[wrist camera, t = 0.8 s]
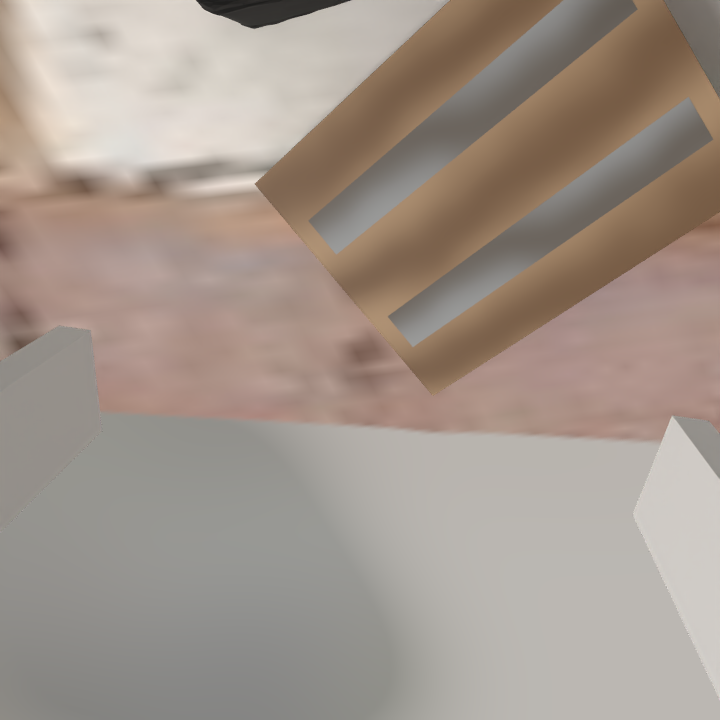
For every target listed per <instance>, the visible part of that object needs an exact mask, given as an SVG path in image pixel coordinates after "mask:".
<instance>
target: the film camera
mask: <svg viewBox="0 0 720 720" xmlns="http://www.w3.org/2000/svg"><path fill="white" fill-rule="evenodd" d="M196 1H197V2H198V3H199V4H200V5H201V6H202V8H203V9H204V10H206V11H208V12H210V13H213V14H216V15H221V16H224V17H226V18H229V19H231V20H234V21H236V22H238V23H241V25H243V26H247V27H250V28H254V29H256V28H259V27H263V26H266V25H274V24H277V23H280V22H283V21H286V20H288V19H291V18H295V17H299V16H303V15H307V14H310V13H313V12H315V11H318V10H321V9H324V8H328V7H332V6H335V5H338V4H341V3H344V2H347V1H350V0H196Z"/></svg>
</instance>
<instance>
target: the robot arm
mask: <svg viewBox="0 0 720 720" xmlns="http://www.w3.org/2000/svg"><path fill="white" fill-rule="evenodd" d="M101 431H102V424H101V416H100V407H99V398H98V389H97V381H96V372H95V363H94V355H93V346H92V337H91V330H85V329H78V328H72V327H65V326H58V327H56V328H55V329H53V330H51V331H50V332H48V333H46V334H45V335H43V336H41V337H40V338H38V339H36V340H35V341H33V342H31V343H30V344H28V345H27V346H25V347H23V348H22V349H20V350H18V351H17V352H15V353H13V354H12V355H10V356H8V357H7V358H5V359H4V360H2V361H0V532H2V531H3V530H4V528H6V526H7V525H9V524H10V523H11V522H12V521H13V520H14V518H16V516H17V515H19V514H20V513H21V512H22V510H23V509H25V508H26V507H27V505H29V504H30V502H32V501H33V500H34V499H35V498H36V497H37V495H39V493H40V492H41V491H43V489H44V488H45V487H46V486H47V485H48V484H49V483H50V482H51V481H52V480H53V479H54V478H55V477H56V476H57V475H58V474H59V473H60V472H61V471H62V470H63V469H64V468H65V467H66V466H67V465H68V464H69V463H70V462H71V461H72V460H73V459H74V458H75V457H76V456H77V455H78V454H79V453H80V452H81V451H82V450H83V449H84V448H85V447H86V446H87V445H88V444H89V443H90V442H91V441H92V440H93V439H94V438H95V437H96V436H97V435H98V434H99V433H100V432H101ZM633 517H634V519H635V521H636V523H637V525H638V527H639V529H640V532H641V533H642V536H643V538H644V540H645V542H646V544H647V546H648V549H649V551H650V553H651V555H652V557H653V559H654V561H655V563H656V566H657V568H658V570H659V572H660V574H661V576H662V578H663V581H664V583H665V585H666V587H667V589H668V591H669V593H670V595H671V597H672V600H673V602H674V604H675V606H676V608H677V610H678V613H679V615H680V617H681V619H682V621H683V623H684V625H685V627H686V630H687V632H688V634H689V636H690V638H691V640H692V642H693V644H694V646H695V649H696V651H697V653H698V655H699V657H700V659H701V661H702V664H703V666H704V668H705V670H706V672H707V674H708V676H709V678H710V680H711V683H712V684H713V687H714V689H715V691H716V693H717V695H718V698H719V700H720V434H719V432H718V431H717V430H716V429H715V428H714V426H713V425H712V424H711V423H710V422H709V421H706V420H700V419H693V418H686V417H679V416H672V417H671V420H670V422H669V425H668V427H667V430H666V432H665V435H664V437H663V440H662V442H661V445H660V447H659V450H658V453H657V455H656V457H655V460H654V462H653V465H652V468H651V470H650V472H649V475H648V477H647V480H646V483H645V485H644V487H643V490H642V492H641V495H640V497H639V500H638V503H637V505H636V508H635V510H634V512H633Z"/></svg>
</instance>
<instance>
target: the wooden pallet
mask: <svg viewBox="0 0 720 720" xmlns="http://www.w3.org/2000/svg"><path fill="white" fill-rule="evenodd" d="M255 185H256V186H257V187H258V189H259V190H260V191H261V192H262V193H263V195H264V196H265V197H266V198H267V199H268V200H269V202H270V203H271V204H272V205H273V206H274V208H275V209H276V210H277V211H278V212H279V214H280V215H281V216H282V217H283V218H284V219H285V221H286V222H287V223H288V224H289V225H290V227H291V228H292V229H293V230H294V231H295V233H296V234H297V235H298V236H299V237H300V238H301V240H302V241H303V242H304V243H305V244H306V246H307V247H308V248H309V249H310V250H311V252H312V253H313V254H314V255H315V256H316V258H317V259H318V260H319V261H320V262H321V263H322V265H323V266H324V267H325V268H326V269H327V271H328V272H329V273H330V274H331V275H332V277H333V278H334V279H335V280H336V281H337V282H338V284H339V285H340V286H341V287H342V288H343V290H344V291H345V292H346V293H347V294H348V296H349V297H350V298H351V299H352V300H353V302H354V303H355V304H356V305H357V306H358V307H359V309H360V310H361V311H362V312H363V313H364V315H365V316H366V317H367V318H368V319H369V321H370V322H371V323H372V324H373V325H374V326H375V328H376V329H377V330H378V331H379V332H380V334H381V335H382V336H383V337H384V338H385V340H386V341H387V342H388V343H389V344H390V345H391V347H392V348H393V349H394V350H395V351H396V353H397V354H398V355H399V356H400V357H401V359H402V360H403V361H404V362H405V363H406V365H407V366H408V367H409V368H410V369H411V370H412V372H413V373H414V374H415V375H416V376H417V378H418V379H419V380H420V381H421V382H422V384H423V385H424V386H425V387H426V388H427V389H428V391H429V392H430V393H431V394H432V395H433V396H434V395H435V394H437V393H438V392H440V391H441V390H443V389H444V388H446V387H448V386H449V385H451V384H452V383H454V382H455V381H457V380H458V379H460V378H462V377H463V376H465V375H466V374H468V373H469V372H471V371H472V370H474V369H476V368H477V367H479V366H480V365H482V364H483V363H485V362H487V361H488V360H490V359H491V358H493V357H494V356H496V355H497V354H499V353H501V352H502V351H504V350H505V349H507V348H508V347H510V346H511V345H513V344H515V343H516V342H518V341H519V340H521V339H522V338H524V337H526V336H527V335H529V334H530V333H532V332H533V331H535V330H536V329H538V328H540V327H541V326H543V325H544V324H546V323H547V322H549V321H550V320H552V319H554V318H555V317H557V316H558V315H560V314H561V313H563V312H564V311H566V310H568V309H569V308H571V307H572V306H574V305H575V304H577V303H579V302H580V301H582V300H583V299H585V298H586V297H588V296H589V295H591V294H593V293H594V292H596V291H597V290H599V289H600V288H602V287H603V286H605V285H607V284H608V283H610V282H611V281H613V280H614V279H616V278H618V277H619V276H621V275H622V274H624V273H625V272H627V271H628V270H630V269H632V268H633V267H635V266H636V265H638V264H639V263H641V262H642V261H644V260H646V259H647V258H649V257H650V256H652V255H653V254H655V253H656V252H658V251H660V250H661V249H663V248H664V247H666V246H667V245H669V244H671V243H672V242H674V241H675V240H677V239H678V238H680V237H681V236H683V235H685V234H686V233H688V232H689V231H691V230H692V229H694V228H695V227H697V226H699V225H700V224H702V223H703V222H705V221H706V220H708V219H709V218H711V217H713V216H714V215H716V214H717V213H719V212H720V99H719V97H718V95H717V94H716V92H715V90H714V88H713V86H712V85H711V83H710V81H709V79H708V78H707V76H706V74H705V72H704V71H703V69H702V67H701V65H700V64H699V62H698V60H697V58H696V56H695V55H694V53H693V51H692V49H691V48H690V46H689V44H688V42H687V41H686V39H685V37H684V35H683V34H682V32H681V30H680V28H679V26H678V25H677V23H676V21H675V19H674V18H673V16H672V14H671V12H670V11H669V9H668V7H667V5H666V4H665V2H664V0H450V1H449V2H448V3H447V4H446V5H445V6H444V7H443V8H442V9H440V10H439V11H438V12H437V13H436V14H435V15H434V16H433V17H432V18H431V19H430V20H429V21H428V22H427V23H426V24H424V25H423V26H422V27H421V28H420V29H419V30H418V31H417V32H416V33H415V34H414V35H413V36H412V37H411V38H410V39H409V40H407V41H406V42H405V43H404V44H403V45H402V46H401V47H400V48H399V49H398V50H397V51H396V52H395V53H394V54H393V55H391V56H390V57H389V58H388V59H387V60H386V61H385V62H384V63H383V64H382V65H381V66H380V67H379V68H378V69H377V70H376V71H374V72H373V73H372V74H371V75H370V76H369V77H368V78H367V79H366V80H365V81H364V82H363V83H362V84H361V85H360V86H358V87H357V88H356V89H355V90H354V91H353V92H352V93H351V94H350V95H349V96H348V97H347V98H346V99H345V100H344V101H343V102H341V103H340V104H339V105H338V106H337V107H336V108H335V109H334V110H333V111H332V112H331V113H330V114H329V115H328V116H327V117H325V118H324V119H323V120H322V121H321V122H320V123H319V124H318V125H317V126H316V127H315V128H314V129H313V130H312V131H311V132H310V133H308V134H307V135H306V136H305V137H304V138H303V139H302V140H301V141H300V142H299V143H298V144H297V145H296V146H295V147H294V148H292V149H291V150H290V151H289V152H288V153H287V154H286V155H285V156H284V157H283V158H282V159H281V160H280V161H279V162H278V163H277V164H275V165H274V166H273V167H272V168H271V169H270V170H269V171H268V172H267V173H266V174H265V175H264V176H263V177H262V178H261V179H259V180H258V181H257V182H256V183H255Z"/></svg>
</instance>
